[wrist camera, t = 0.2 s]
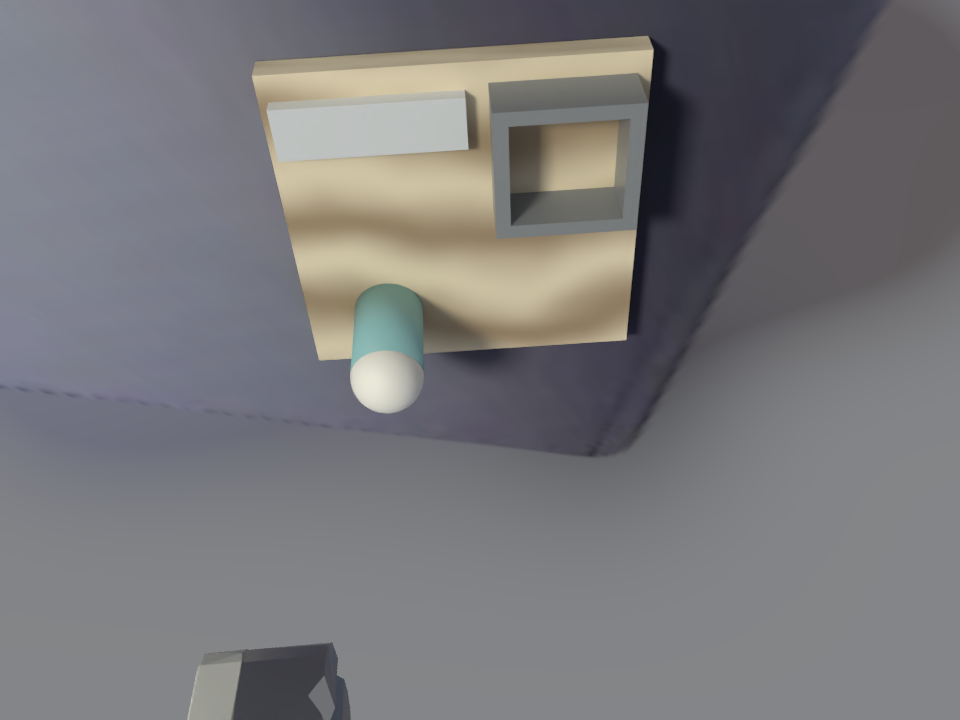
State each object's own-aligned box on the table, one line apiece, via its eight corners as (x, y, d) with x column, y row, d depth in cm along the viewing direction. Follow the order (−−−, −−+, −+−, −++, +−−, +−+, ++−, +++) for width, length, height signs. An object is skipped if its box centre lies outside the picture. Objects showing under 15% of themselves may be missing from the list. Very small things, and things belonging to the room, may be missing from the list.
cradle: (488, 82, 47) (491, 113, 44) (637, 73, 47) (648, 103, 44) (493, 206, 52) (496, 239, 50) (627, 197, 52) (636, 229, 50)
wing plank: (279, 153, 49) (278, 161, 48) (268, 102, 47) (266, 110, 46) (467, 141, 49) (468, 149, 48) (464, 89, 47) (465, 97, 46)
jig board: (255, 61, 47) (251, 76, 46) (648, 35, 47) (653, 49, 46) (321, 344, 61) (319, 360, 60) (622, 324, 61) (626, 340, 60)
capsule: (350, 285, 55) (343, 380, 50) (419, 281, 56) (420, 375, 50) (359, 336, 58) (354, 430, 53) (425, 331, 58) (427, 425, 53)
